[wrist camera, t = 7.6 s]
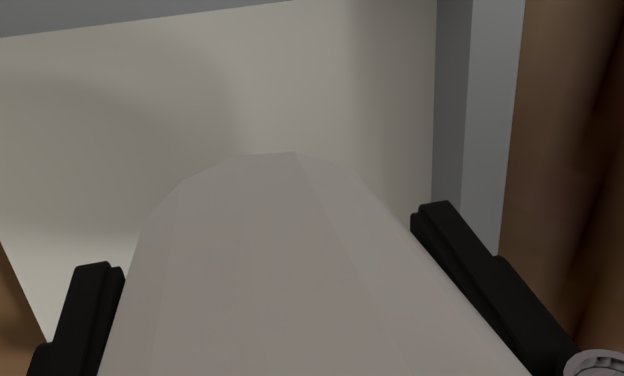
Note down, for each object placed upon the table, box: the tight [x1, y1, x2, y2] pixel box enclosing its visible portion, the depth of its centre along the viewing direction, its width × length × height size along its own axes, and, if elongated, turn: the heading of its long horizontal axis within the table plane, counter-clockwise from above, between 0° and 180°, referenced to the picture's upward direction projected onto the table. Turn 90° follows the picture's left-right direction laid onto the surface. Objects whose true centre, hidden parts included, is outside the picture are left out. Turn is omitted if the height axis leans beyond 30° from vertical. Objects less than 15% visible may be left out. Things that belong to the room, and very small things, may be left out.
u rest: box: [0, 0, 525, 343], centre depth 15 cm, size 14×14×3 cm
